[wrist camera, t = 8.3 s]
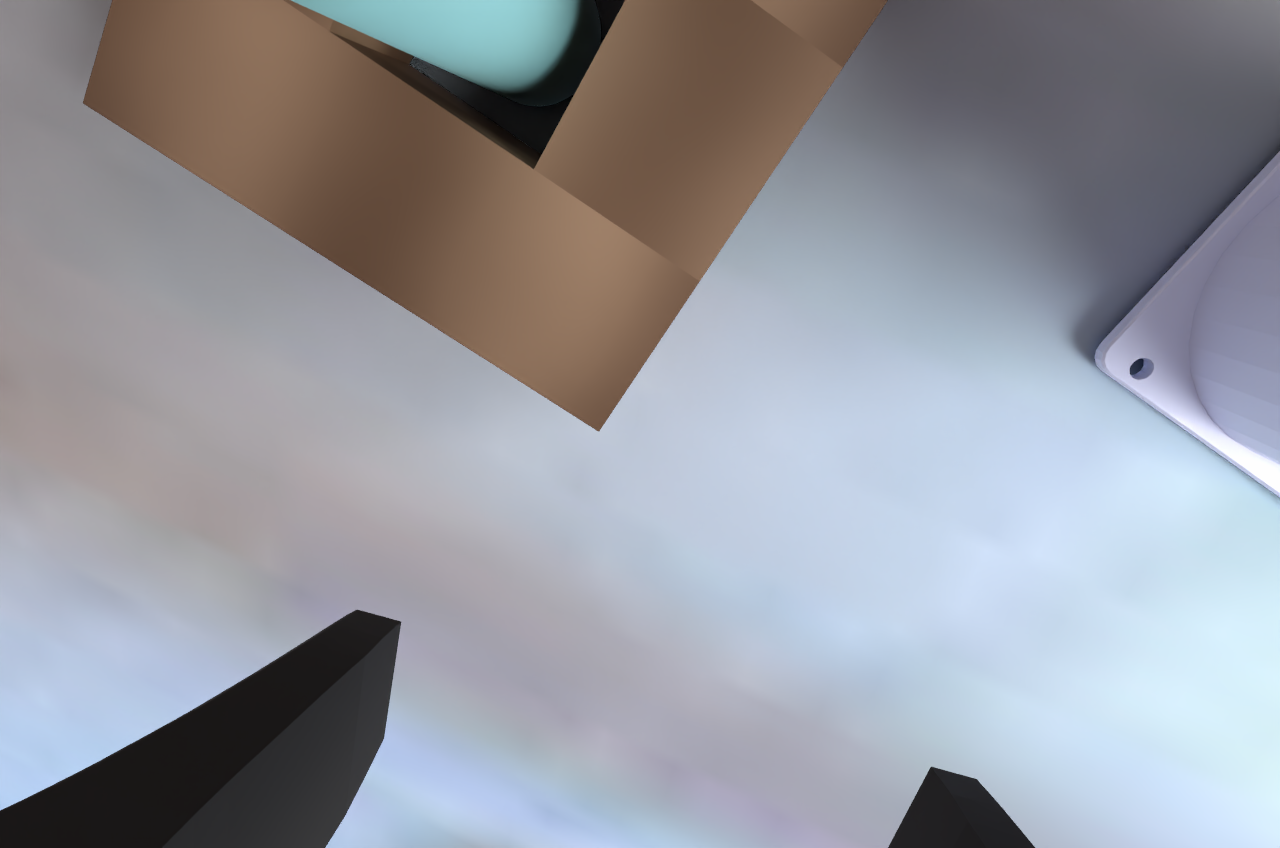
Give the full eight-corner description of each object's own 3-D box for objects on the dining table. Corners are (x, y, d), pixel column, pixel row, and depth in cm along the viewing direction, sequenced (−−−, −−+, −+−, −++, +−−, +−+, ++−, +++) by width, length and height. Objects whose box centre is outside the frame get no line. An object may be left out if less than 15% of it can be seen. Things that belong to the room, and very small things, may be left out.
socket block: (929, -80, 14) (998, -165, 10) (619, 386, 18) (598, 431, 14) (418, -474, 13) (316, -709, 9) (208, 120, 16) (82, 103, 13)
